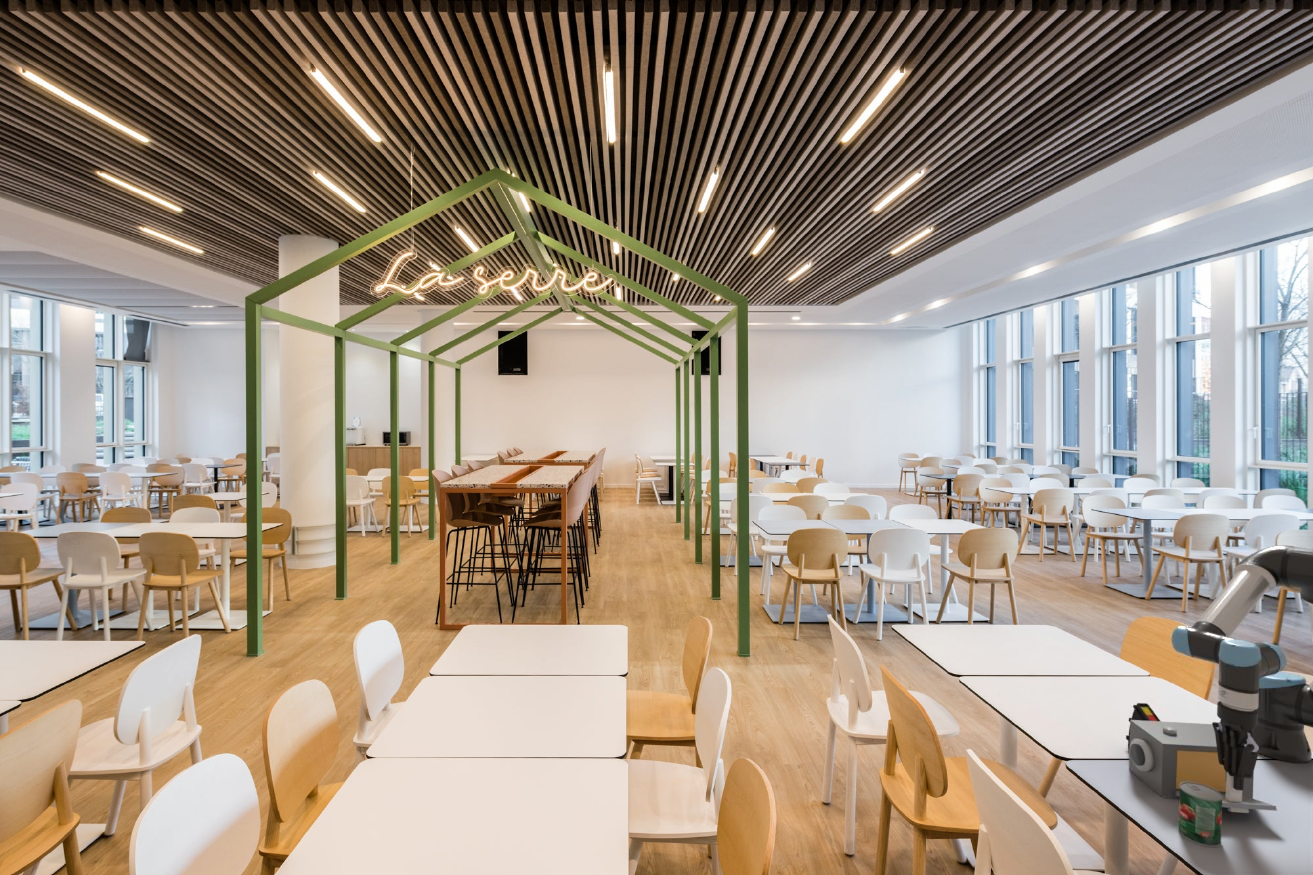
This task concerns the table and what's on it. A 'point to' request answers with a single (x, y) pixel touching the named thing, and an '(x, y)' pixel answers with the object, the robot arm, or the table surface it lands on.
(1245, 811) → the door
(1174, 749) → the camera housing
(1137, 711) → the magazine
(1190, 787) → the canned tomato
